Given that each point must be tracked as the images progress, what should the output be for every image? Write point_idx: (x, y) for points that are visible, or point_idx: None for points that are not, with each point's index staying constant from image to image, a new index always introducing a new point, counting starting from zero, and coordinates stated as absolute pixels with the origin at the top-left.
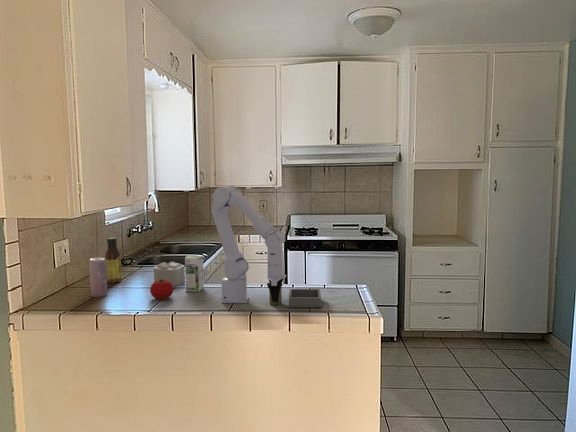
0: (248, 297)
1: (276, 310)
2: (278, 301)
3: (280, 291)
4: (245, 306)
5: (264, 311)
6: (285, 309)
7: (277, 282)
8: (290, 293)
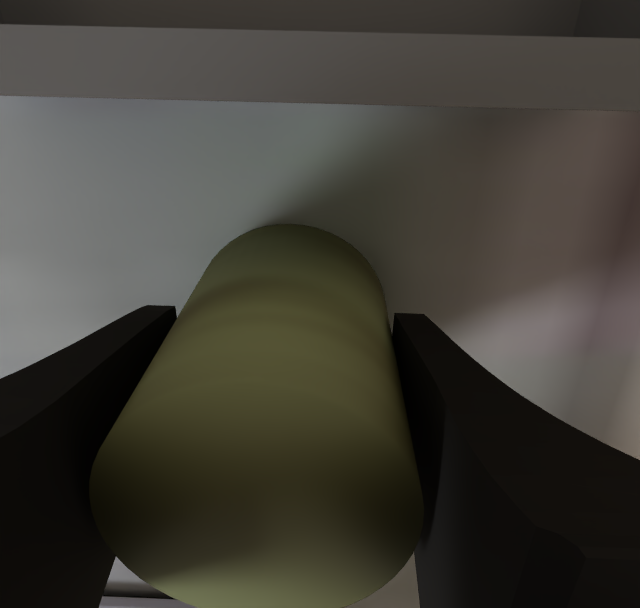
0: (109, 602)
1: (614, 295)
2: (379, 300)
3: (348, 366)
4: (388, 599)
5: (611, 435)
6: (603, 155)
7: (5, 584)
8: (278, 65)
